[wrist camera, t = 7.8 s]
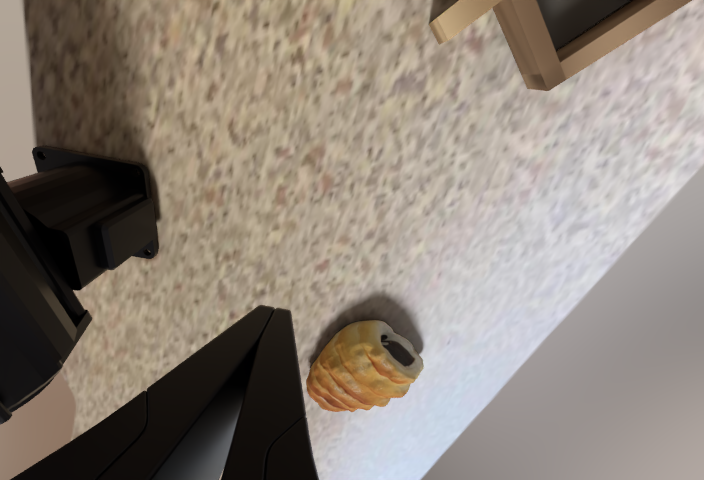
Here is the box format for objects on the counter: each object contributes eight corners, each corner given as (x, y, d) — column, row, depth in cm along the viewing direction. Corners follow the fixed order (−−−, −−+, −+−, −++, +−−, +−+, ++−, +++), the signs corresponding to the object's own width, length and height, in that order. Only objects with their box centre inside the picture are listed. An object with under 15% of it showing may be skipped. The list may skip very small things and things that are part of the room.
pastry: (347, 404, 29) (343, 448, 26) (288, 364, 27) (276, 405, 24) (428, 351, 26) (437, 393, 22) (367, 301, 24) (366, 339, 20)
